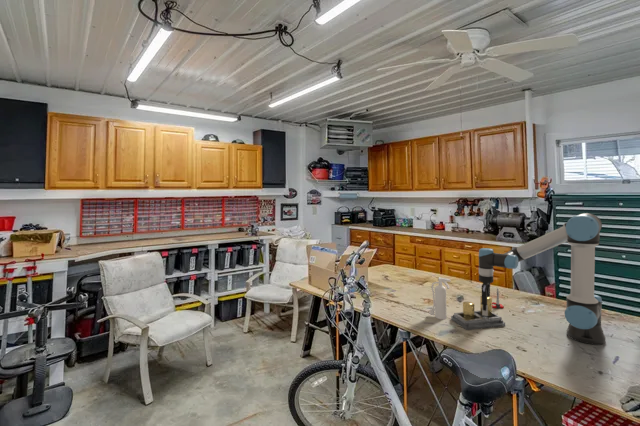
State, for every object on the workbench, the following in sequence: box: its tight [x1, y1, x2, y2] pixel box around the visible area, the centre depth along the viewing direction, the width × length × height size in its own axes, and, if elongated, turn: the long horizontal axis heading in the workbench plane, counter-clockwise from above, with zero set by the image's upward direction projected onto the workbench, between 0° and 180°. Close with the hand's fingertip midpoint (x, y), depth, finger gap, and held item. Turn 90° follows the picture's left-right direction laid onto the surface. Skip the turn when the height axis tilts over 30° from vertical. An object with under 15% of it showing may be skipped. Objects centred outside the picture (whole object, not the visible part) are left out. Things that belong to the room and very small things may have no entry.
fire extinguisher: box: [428, 276, 451, 320], centre depth 189 cm, size 7×12×25 cm, turn 62°
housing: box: [450, 301, 506, 331], centre depth 180 cm, size 15×24×12 cm, turn 98°
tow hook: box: [492, 288, 504, 309], centre depth 205 cm, size 8×13×9 cm
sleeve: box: [479, 295, 493, 316], centre depth 180 cm, size 6×6×10 cm
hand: (485, 313), depth 181 cm, fingers closed on sleeve, 6 cm apart
